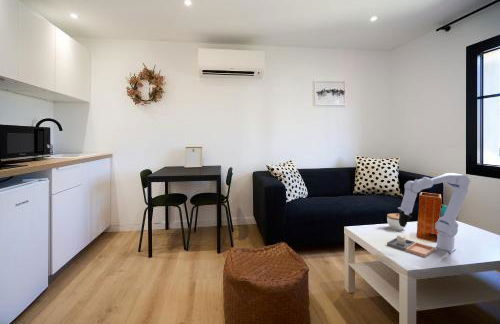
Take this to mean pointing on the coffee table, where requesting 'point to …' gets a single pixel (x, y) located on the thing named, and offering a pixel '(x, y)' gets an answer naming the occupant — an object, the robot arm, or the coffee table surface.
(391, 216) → the lidded bowl
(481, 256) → the coffee table surface
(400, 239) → the beige rounded cylinder
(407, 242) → the tray
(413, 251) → the tray
